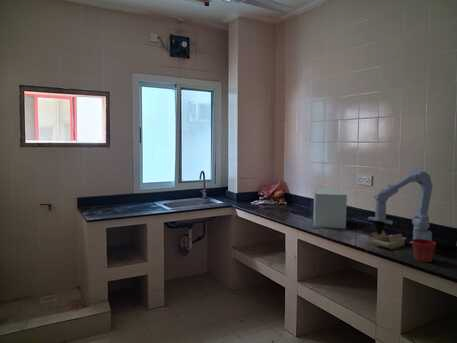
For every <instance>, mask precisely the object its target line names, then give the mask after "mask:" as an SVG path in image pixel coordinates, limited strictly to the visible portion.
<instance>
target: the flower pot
mask: <svg viewBox="0 0 457 343" xmlns="http://www.w3.org/2000/svg"><path fill="white" fill-rule="evenodd" d="M411 241H412V243H411V244H412V250H413V256H414V259H415V260H416V261H419V262H423V263H430V262H432V261H433V258H434V254H435V251H436V250H435V249H436V246H437V242H435V241H433V240H432V241H431V240H426V239H413V238H412V240H411Z"/></svg>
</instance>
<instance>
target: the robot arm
mask: <svg viewBox="0 0 457 343" xmlns="http://www.w3.org/2000/svg"><path fill="white" fill-rule="evenodd" d="M410 183H418V184H419V186H420V187H421V189H420V194H419V200H418V204H417V205H418V206H417V210H416V213H414V217H412V220H411V224H412V225H413V227H412V228H413V230H412V240H413V239H426V240H431V241H433V240H432V238H433V232H432V231H431V230H428V229H429V228H430V217H429V215H428V213H429V208H430V202H431V195H432V190H433V182H432V180H431V175H430V174H429V173H428V172H426V171H421V170H414V171H412V172H409V173H408V175H406V176H405V177H403V178H402V179H401V180H399V181H397V183H395V184H388V185H387V186H386V187H385V188H384V189H381V190H380V191H377V192H376V193H375V195H374V199H375V216H368V219H367V220H368V221H374V222H373V223H374V226H375V227H376V232H378V234H382V230H383V231H384V228H385V226H386V225H387V224H388V225H393V223H394V221H393V220H390V219H387V218H386V217H387V215H386V214H387V213H386V212H387V202H388V200H389V198H391V197H393V196H394V195H396V194H397V193H398V192H399V190H400V189H401V188H403V187H404V186H406V185H408V184H410ZM412 240H411V241H409V243H410V244H412Z"/></svg>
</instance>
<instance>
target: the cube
mask: <svg viewBox="0 0 457 343" xmlns="http://www.w3.org/2000/svg"><path fill="white" fill-rule="evenodd" d="M347 200H348V195H347V193H346V192H345V191H344V190H343V189H318V188H317V189H313V214H312V216H313V217H312V218H313V219H312V220H313V224H314V228H326V227H327V228H328V229H329V228H330V229H347V205H348V204H347Z"/></svg>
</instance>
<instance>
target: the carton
mask: <svg viewBox="0 0 457 343" xmlns="http://www.w3.org/2000/svg"><path fill="white" fill-rule="evenodd" d="M393 235H394V234H390V235H387V236H384V237H381V238H377V239H375V238H374V239H372V240H370V241H371V242H373V245H375V246H378V247H381V248H385V249H390V250H393V249H397V248H400V247H404V246H405V240H407V237H403V239H404V240H401V241H398V242H395V243H392V242H391V240H390V238H389V236H393Z"/></svg>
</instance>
